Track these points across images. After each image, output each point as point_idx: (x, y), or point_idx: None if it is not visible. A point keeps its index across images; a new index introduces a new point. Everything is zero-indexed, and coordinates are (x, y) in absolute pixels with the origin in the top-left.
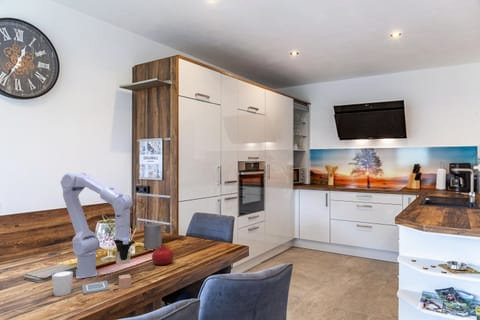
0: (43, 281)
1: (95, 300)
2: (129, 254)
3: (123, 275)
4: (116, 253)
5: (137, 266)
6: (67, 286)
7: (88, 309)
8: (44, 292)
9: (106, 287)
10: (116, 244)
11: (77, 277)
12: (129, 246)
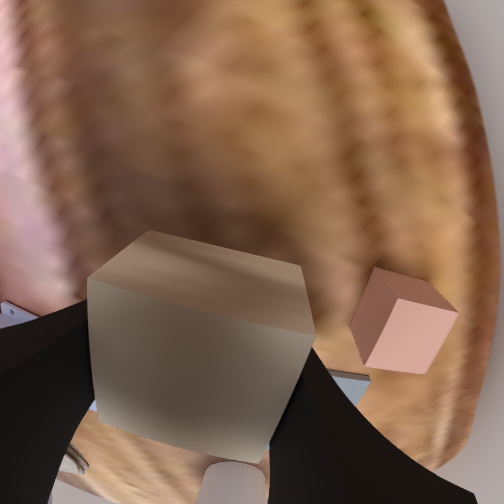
0: (80, 456)
1: (411, 430)
2: (309, 336)
3: (388, 341)
4: (175, 445)
5: (54, 69)
6: (263, 497)
7: (446, 445)
8: (190, 490)
9: (342, 389)
10: (49, 483)
11: (91, 407)
12: (433, 488)
